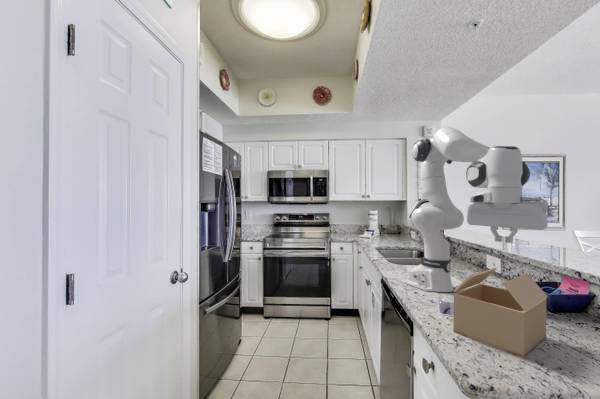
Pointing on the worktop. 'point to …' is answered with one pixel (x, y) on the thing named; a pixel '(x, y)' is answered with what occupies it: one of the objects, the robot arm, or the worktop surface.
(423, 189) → the robot arm
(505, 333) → the carton
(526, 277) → the flap
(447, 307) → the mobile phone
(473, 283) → the flap
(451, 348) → the worktop surface
